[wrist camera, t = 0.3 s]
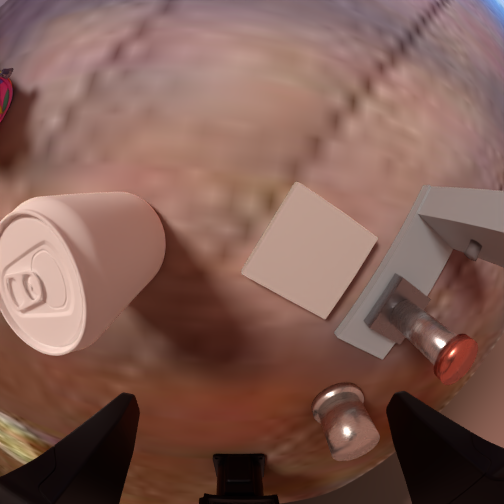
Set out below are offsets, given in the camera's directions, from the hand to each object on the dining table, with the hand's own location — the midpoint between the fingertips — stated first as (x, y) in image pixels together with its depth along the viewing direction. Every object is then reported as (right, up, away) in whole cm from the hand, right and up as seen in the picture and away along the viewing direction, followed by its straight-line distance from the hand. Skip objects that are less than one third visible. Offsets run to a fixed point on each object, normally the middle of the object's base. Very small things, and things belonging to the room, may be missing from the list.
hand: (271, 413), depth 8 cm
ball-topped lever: (+12, 0, +14) cm, 19 cm away
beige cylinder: (-11, +6, +13) cm, 19 cm away
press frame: (+9, +6, +14) cm, 18 cm away
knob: (+9, -11, +18) cm, 23 cm away
